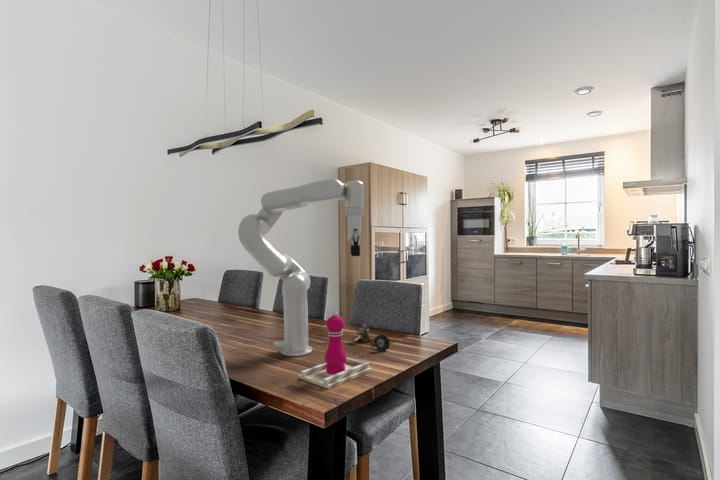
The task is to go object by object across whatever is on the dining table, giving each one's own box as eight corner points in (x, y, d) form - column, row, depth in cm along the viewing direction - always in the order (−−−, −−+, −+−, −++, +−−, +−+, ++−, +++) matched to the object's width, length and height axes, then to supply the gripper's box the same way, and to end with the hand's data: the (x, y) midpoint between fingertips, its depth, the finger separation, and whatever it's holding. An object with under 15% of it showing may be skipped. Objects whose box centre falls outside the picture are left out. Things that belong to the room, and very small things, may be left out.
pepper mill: (338, 376, 122) (337, 314, 122) (320, 372, 126) (319, 312, 126) (350, 370, 128) (350, 310, 128) (333, 366, 132) (332, 308, 132)
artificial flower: (372, 356, 150) (364, 332, 150) (355, 347, 172) (348, 326, 172) (392, 348, 153) (384, 324, 153) (373, 340, 174) (366, 319, 175)
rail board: (329, 389, 115) (328, 380, 115) (299, 378, 124) (299, 370, 124) (371, 371, 130) (371, 363, 130) (342, 362, 139) (342, 355, 139)
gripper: (344, 213, 160) (345, 254, 161) (345, 211, 143) (346, 256, 143) (362, 213, 161) (363, 254, 161) (365, 210, 144) (366, 256, 144)
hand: (355, 255), depth 152 cm, fingers open, 9 cm apart
